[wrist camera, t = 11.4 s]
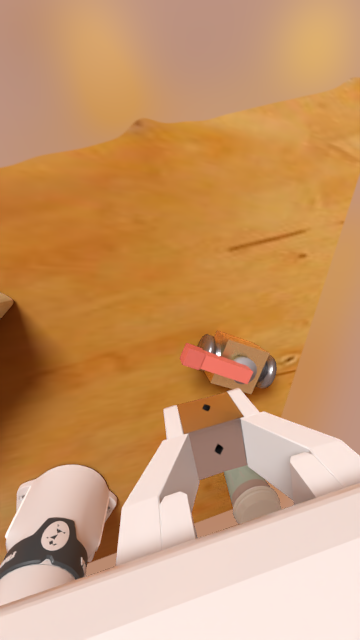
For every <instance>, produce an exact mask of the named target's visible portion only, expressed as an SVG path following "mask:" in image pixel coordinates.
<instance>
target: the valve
mask: <svg viewBox="0 0 360 640" xmlns="http://www.w3.org/2000/svg"><path fill="white" fill-rule="evenodd" d="M197 347H200V348H202V349H203V350H205V351H207V352H210V353H213V354H216V355H219V356H222V357H224V358H227V359H230V360H234V359H235V358H237V357H241V356H244V357H248V358H249V359H251V360H252V361H253V362H254V363H255V364H256V367H257V373H256V376H255V378H254V379H253V380H252V381H251V382H249V383H248V384H238V383H236V382H235V381H234V380H233V379H230V378H227V377H224V376H221V375H218V374H215V373H212V372H209V371H206V370H203V369H199V370H200V371H204V373H205V374H206V376H207V378H208V379H209V381H210V383H213V384H216V385H220V386H223V387H227V388H230V389H236V388H239V389H241V390H242V392H245V393H248V394H252V392H253V390H254V387H258V388H262V389H264V388H267V387H268V386H270V385H271V383H272V382H273V380H274V378H275V375H276V362H275V359H274V358H273V357H272V356H271V355H269V354H270V353H269V352H267V351H265V350H264V349H262V348H261V347H259V346H258V345H256V344H255V343H253V342H250V341H247V340H244V339H241V338H238V337H235V336H232V335H229V334H227V333H224V332H221V331H218V330H217V331H216V334H215V336H214V337H213V336H211V335H208V334H205V335H204V336H203V337H202V338H201V340H200V342H199V344H198V346H197Z"/></svg>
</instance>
